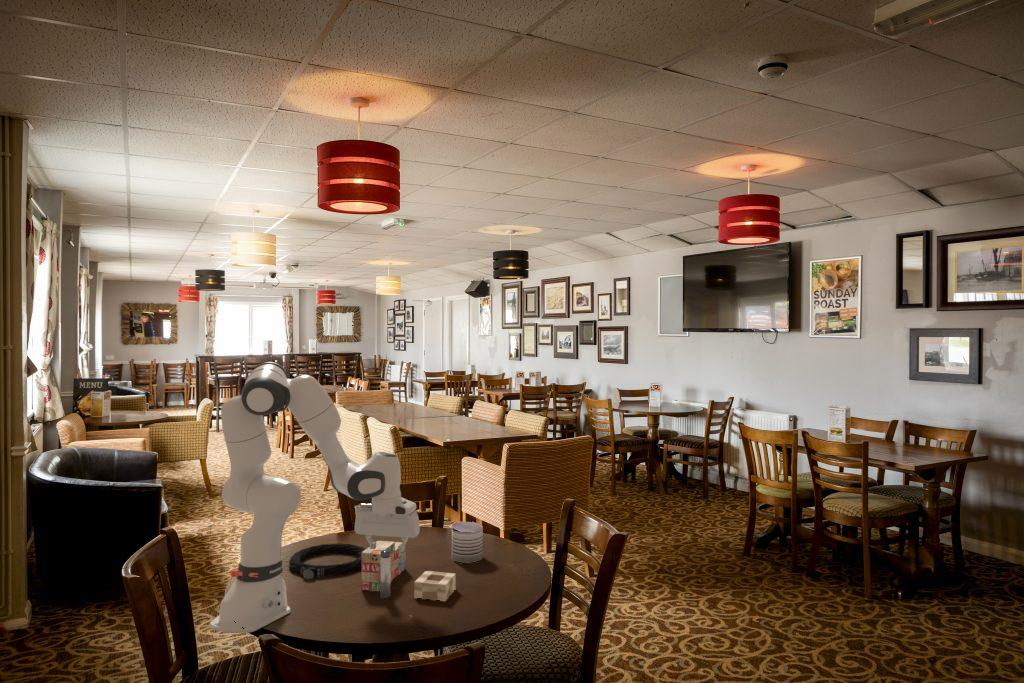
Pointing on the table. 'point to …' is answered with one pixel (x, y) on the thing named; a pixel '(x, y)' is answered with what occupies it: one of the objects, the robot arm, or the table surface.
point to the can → (467, 542)
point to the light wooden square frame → (435, 585)
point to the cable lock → (324, 570)
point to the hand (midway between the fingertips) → (387, 549)
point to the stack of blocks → (373, 564)
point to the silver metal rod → (385, 573)
